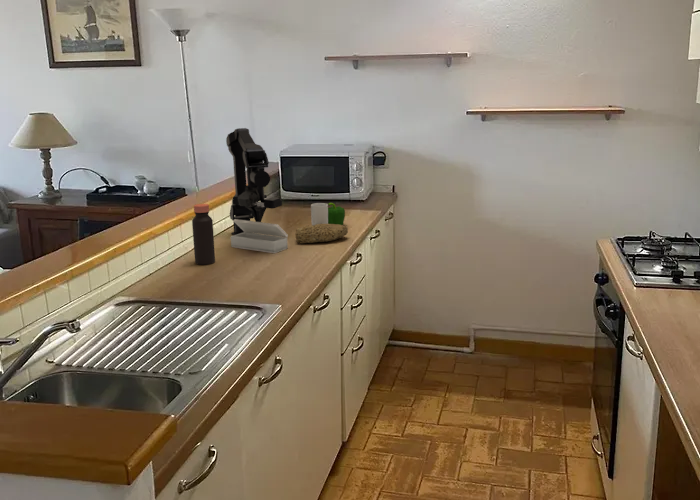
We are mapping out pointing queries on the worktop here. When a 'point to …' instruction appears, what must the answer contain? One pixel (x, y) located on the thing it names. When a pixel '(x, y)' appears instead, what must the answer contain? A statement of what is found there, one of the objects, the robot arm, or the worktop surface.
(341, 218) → the bell pepper
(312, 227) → the rock
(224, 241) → the worktop surface
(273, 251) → the cable tray
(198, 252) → the bottle
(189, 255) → the worktop surface
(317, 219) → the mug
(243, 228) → the lid
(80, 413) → the worktop surface
